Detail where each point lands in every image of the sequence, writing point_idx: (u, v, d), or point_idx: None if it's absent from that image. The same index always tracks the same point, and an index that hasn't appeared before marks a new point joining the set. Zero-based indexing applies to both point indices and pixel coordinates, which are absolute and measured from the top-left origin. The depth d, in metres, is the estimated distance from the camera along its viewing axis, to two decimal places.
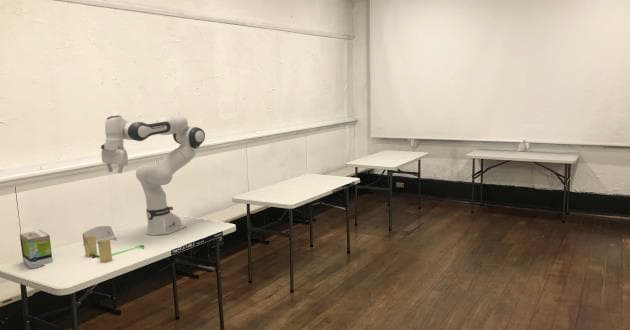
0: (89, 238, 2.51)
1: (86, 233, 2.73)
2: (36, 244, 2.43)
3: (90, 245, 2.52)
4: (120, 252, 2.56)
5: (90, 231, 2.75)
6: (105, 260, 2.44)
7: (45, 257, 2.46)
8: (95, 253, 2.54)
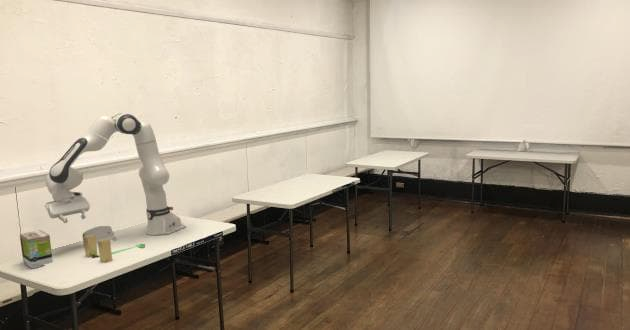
0: (89, 238, 2.51)
1: (86, 233, 2.73)
2: (36, 244, 2.43)
3: (90, 245, 2.52)
4: (121, 250, 2.59)
5: (90, 231, 2.75)
6: (105, 260, 2.44)
7: (45, 257, 2.46)
8: (95, 253, 2.54)
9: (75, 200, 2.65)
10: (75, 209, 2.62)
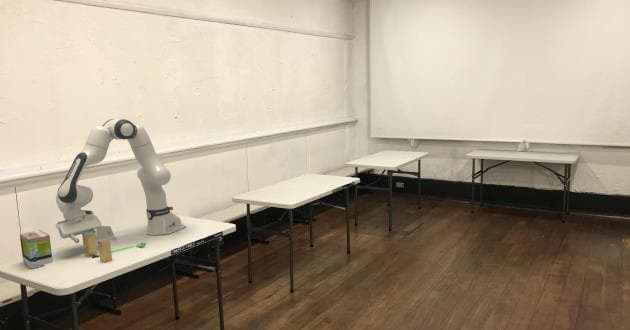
0: (89, 238, 2.51)
1: (86, 233, 2.73)
2: (36, 244, 2.43)
3: (90, 245, 2.52)
4: (121, 249, 2.61)
5: None
6: (105, 260, 2.44)
7: (45, 257, 2.46)
8: (95, 253, 2.54)
9: (86, 218, 2.60)
10: (86, 228, 2.57)
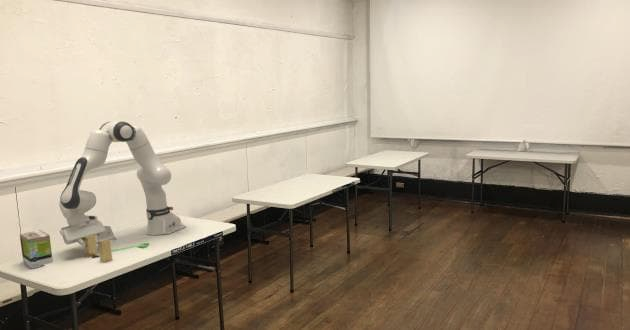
0: (89, 238, 2.51)
1: None
2: (36, 244, 2.43)
3: (90, 245, 2.52)
4: (122, 248, 2.62)
5: None
6: (105, 260, 2.44)
7: (45, 257, 2.46)
8: (95, 253, 2.54)
9: (90, 224, 2.59)
10: (90, 234, 2.56)
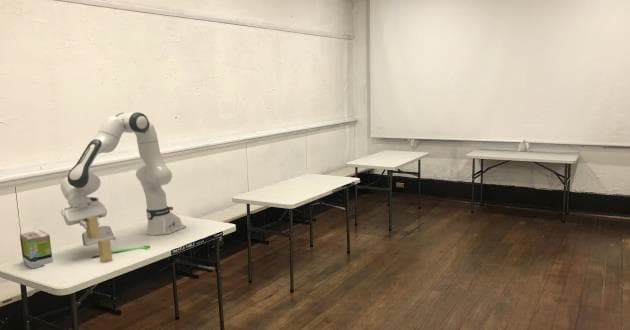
0: (91, 219, 2.47)
1: (86, 233, 2.73)
2: (36, 244, 2.43)
3: (91, 226, 2.48)
4: (122, 249, 2.58)
5: None
6: (105, 260, 2.44)
7: (45, 257, 2.46)
8: (97, 235, 2.50)
9: (91, 205, 2.55)
10: (92, 215, 2.52)
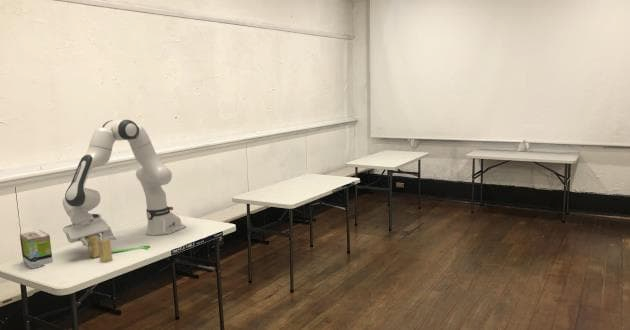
0: (92, 239, 2.48)
1: None
2: (36, 244, 2.43)
3: (93, 246, 2.49)
4: (122, 249, 2.58)
5: None
6: (105, 260, 2.44)
7: (45, 257, 2.46)
8: None
9: (93, 222, 2.56)
10: (94, 232, 2.53)
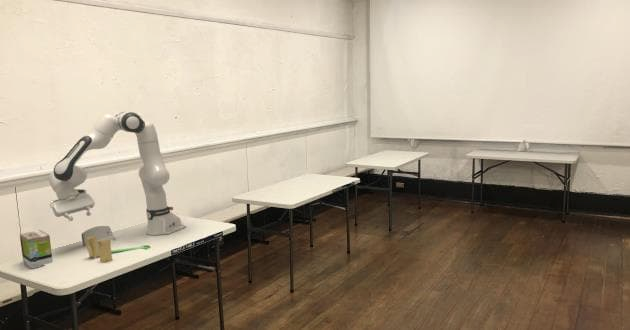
0: (90, 240, 2.48)
1: (85, 233, 2.73)
2: (36, 244, 2.43)
3: (92, 247, 2.49)
4: (122, 249, 2.58)
5: (90, 231, 2.75)
6: (105, 260, 2.44)
7: (45, 257, 2.46)
8: None
9: (79, 197, 2.65)
10: (80, 206, 2.62)
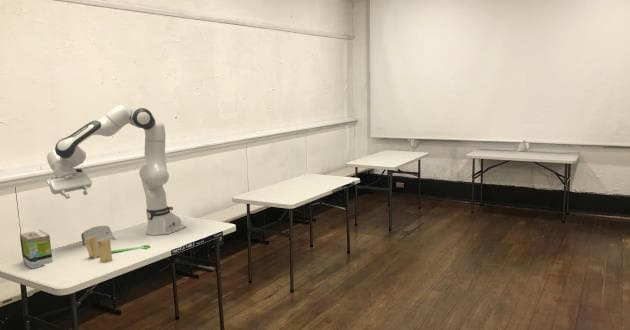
0: (90, 240, 2.48)
1: (85, 233, 2.73)
2: (36, 244, 2.43)
3: (92, 247, 2.49)
4: (122, 249, 2.58)
5: (89, 231, 2.75)
6: (105, 260, 2.44)
7: (45, 257, 2.46)
8: None
9: (76, 176, 2.66)
10: (77, 185, 2.63)
